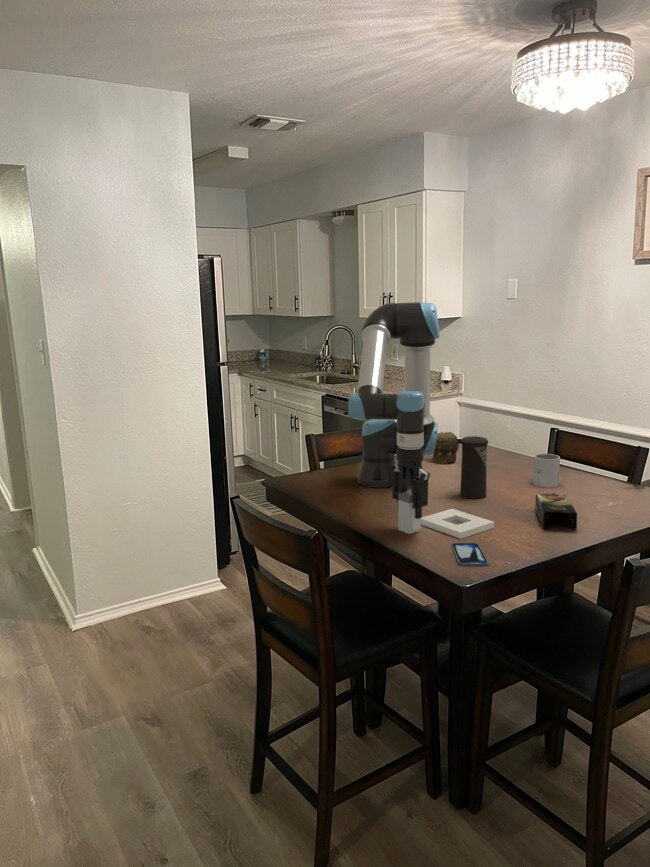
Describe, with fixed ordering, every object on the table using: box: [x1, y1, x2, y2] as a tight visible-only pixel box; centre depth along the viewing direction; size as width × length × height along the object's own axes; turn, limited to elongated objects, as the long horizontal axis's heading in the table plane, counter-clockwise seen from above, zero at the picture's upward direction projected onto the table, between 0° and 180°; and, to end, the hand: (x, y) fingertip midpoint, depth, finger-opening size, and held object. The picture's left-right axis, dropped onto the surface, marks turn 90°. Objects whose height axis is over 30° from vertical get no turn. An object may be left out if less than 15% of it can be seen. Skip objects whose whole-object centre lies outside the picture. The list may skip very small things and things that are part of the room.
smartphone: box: [450, 542, 489, 567], centre depth 170 cm, size 7×1×15 cm
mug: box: [532, 453, 561, 488], centre depth 234 cm, size 12×9×10 cm
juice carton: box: [534, 492, 578, 531], centre depth 196 cm, size 20×10×6 cm, turn 170°
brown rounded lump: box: [432, 431, 459, 465], centre depth 267 cm, size 11×11×12 cm
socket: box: [421, 508, 495, 540], centre depth 192 cm, size 16×14×2 cm
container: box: [459, 435, 489, 499], centre depth 219 cm, size 9×9×20 cm
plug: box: [397, 489, 422, 535], centre depth 188 cm, size 4×4×11 cm
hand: (409, 526), depth 189 cm, fingers closed on plug, 4 cm apart
